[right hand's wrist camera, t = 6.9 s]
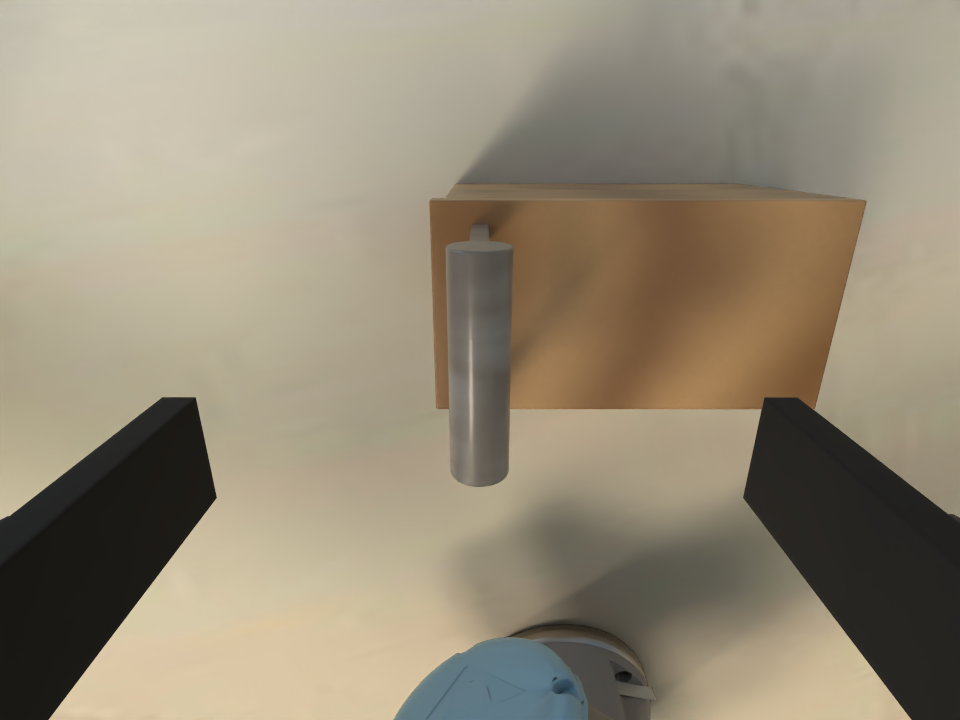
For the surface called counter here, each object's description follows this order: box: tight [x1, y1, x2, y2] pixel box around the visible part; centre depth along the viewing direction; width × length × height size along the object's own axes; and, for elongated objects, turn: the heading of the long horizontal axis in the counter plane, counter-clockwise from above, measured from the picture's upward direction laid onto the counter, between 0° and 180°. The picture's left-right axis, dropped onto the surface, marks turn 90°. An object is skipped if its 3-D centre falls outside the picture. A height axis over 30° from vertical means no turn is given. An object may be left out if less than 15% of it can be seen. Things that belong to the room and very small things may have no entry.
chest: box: [446, 184, 844, 198], centre depth 29 cm, size 17×9×11 cm, turn 90°
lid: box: [430, 198, 866, 487], centre depth 20 cm, size 18×9×8 cm, turn 90°
